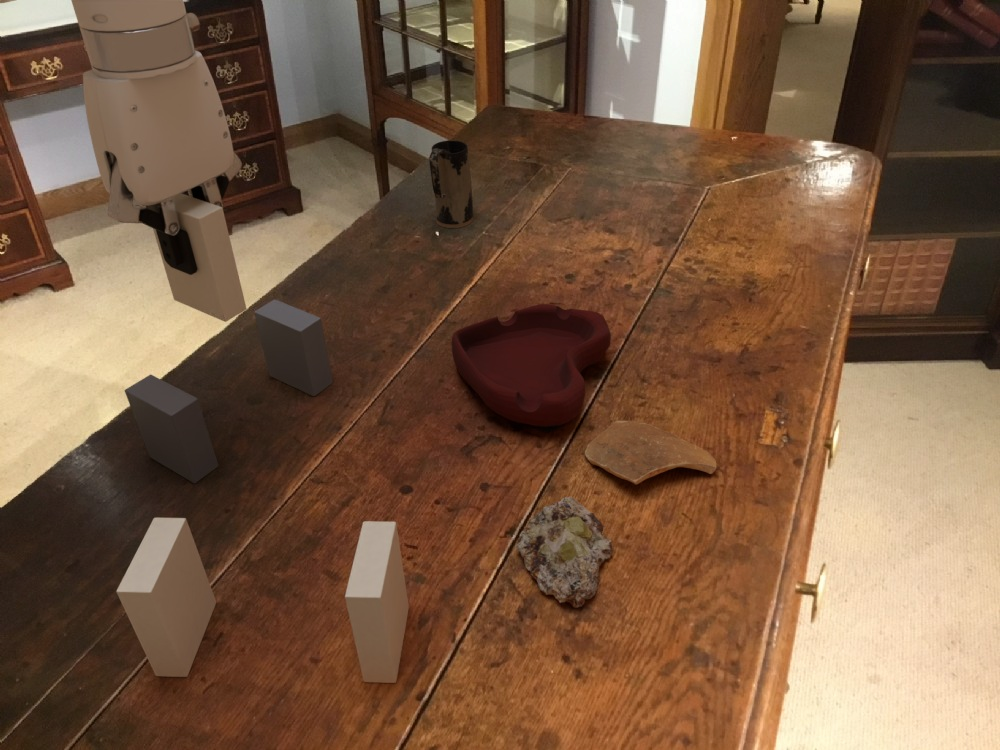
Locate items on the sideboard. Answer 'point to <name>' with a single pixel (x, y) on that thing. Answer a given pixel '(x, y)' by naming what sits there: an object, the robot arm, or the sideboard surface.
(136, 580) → the white books
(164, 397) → the grey books
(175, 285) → the white book
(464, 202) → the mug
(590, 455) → the pottery shard
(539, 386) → the ashtray
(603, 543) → the mineral rock
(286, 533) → the sideboard surface
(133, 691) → the sideboard surface
